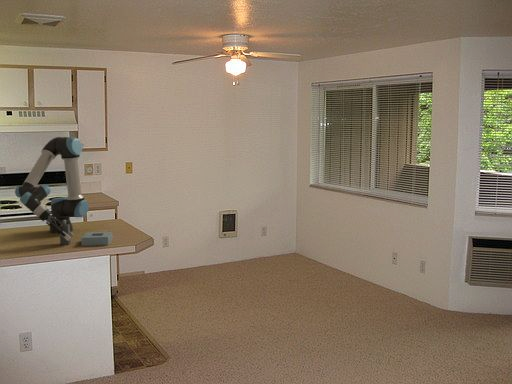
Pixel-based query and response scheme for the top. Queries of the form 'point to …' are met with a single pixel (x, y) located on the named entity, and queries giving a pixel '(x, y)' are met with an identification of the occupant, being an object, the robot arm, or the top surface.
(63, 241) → the gray bottle
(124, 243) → the top surface
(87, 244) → the socket
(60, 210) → the robot arm
